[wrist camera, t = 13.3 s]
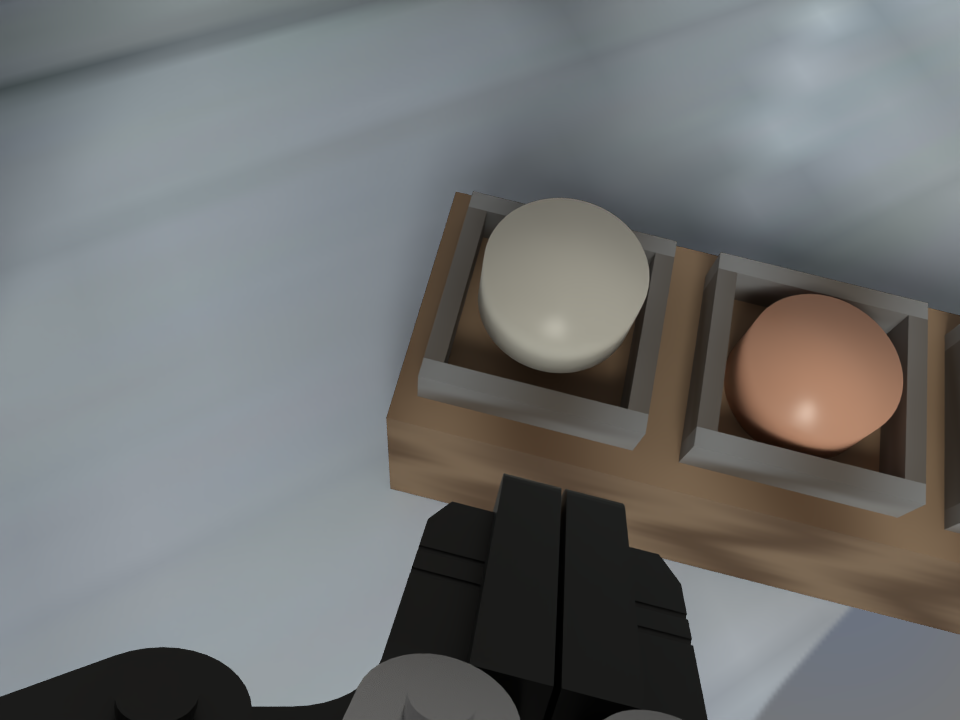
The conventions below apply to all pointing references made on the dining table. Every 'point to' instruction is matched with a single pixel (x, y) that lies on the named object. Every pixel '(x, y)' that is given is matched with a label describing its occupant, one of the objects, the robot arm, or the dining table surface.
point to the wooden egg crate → (693, 430)
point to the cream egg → (561, 284)
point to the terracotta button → (813, 376)
